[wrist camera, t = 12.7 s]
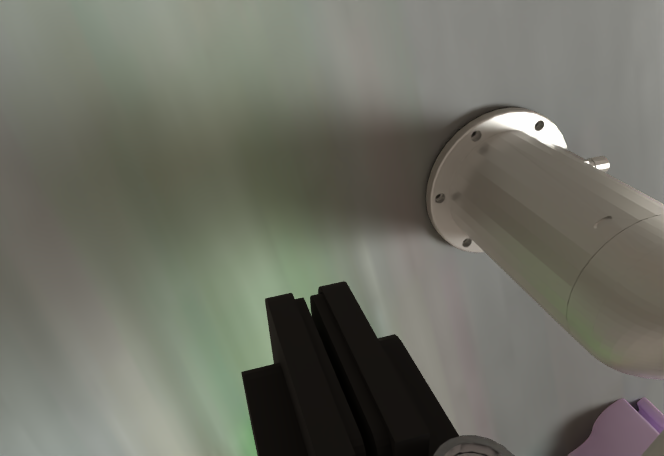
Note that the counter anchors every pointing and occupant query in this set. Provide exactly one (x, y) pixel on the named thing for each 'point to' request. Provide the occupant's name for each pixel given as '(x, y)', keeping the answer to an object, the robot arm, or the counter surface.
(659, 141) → the counter surface
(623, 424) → the clip
